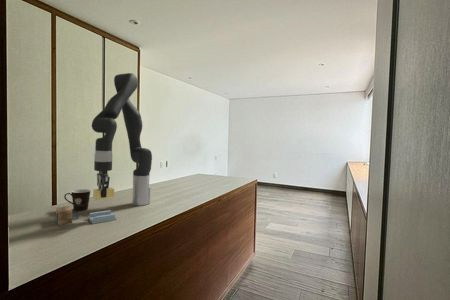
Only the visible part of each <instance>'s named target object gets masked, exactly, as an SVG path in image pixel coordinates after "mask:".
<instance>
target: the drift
mask: <svg viewBox="0 0 450 300" xmlns="http://www.w3.org/2000/svg"><path fill="white" fill-rule="evenodd" d="M79 216H80V213H79V212H78V211H72V221H75V220H79V218H80V217H79ZM53 223H54V224H56V225H58V216H54V218H53Z"/></svg>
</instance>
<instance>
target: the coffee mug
mask: <svg viewBox="0 0 450 300" xmlns="http://www.w3.org/2000/svg"><path fill="white" fill-rule="evenodd" d="M67 195H70V196H71V198H72V201H70V200H68V198H67V197H66V196H67ZM90 196H91V189H87V188H85V189H84V188H82V189H74V190H72V191H71V193H70V192H67V193H65V194H64V197H63V198H64V199H65V201H66V202H67V203H70V204H71V205H72V206H73V212H85V211H88V209H89V202H90Z"/></svg>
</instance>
